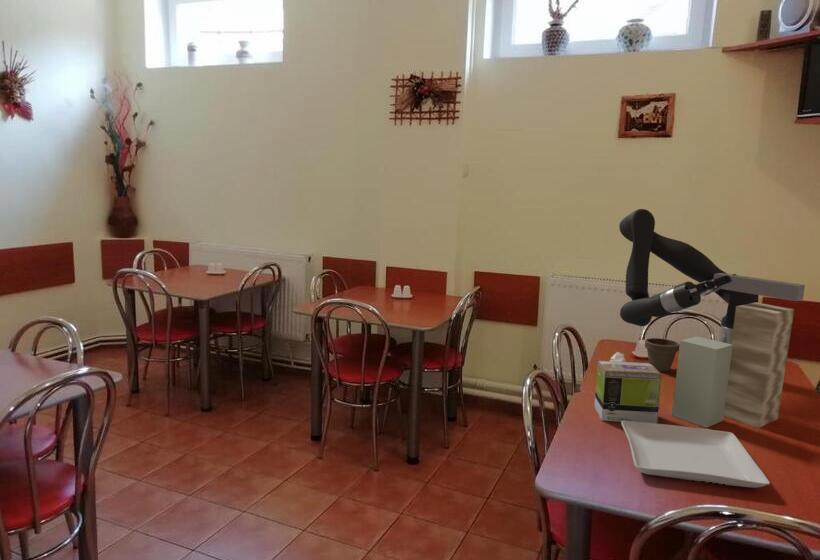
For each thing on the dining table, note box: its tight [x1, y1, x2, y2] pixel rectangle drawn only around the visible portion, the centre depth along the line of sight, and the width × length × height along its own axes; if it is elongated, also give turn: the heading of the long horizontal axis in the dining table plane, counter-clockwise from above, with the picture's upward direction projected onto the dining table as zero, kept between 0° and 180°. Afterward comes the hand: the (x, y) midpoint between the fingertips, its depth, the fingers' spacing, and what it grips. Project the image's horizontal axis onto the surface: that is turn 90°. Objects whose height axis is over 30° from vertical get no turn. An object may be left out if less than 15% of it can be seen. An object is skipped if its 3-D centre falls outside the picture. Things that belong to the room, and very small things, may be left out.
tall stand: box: [723, 302, 795, 429], centre depth 165 cm, size 12×10×32 cm
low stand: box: [671, 336, 733, 429], centre depth 164 cm, size 9×10×22 cm
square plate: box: [620, 421, 771, 488], centre depth 139 cm, size 27×27×4 cm
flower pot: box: [644, 337, 680, 373], centre depth 209 cm, size 12×11×10 cm
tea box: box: [594, 360, 662, 424], centre depth 164 cm, size 15×10×15 cm, turn 84°
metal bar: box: [714, 272, 806, 302], centre depth 164 cm, size 4×22×4 cm, turn 37°
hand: (732, 277), depth 169 cm, fingers closed on metal bar, 4 cm apart
